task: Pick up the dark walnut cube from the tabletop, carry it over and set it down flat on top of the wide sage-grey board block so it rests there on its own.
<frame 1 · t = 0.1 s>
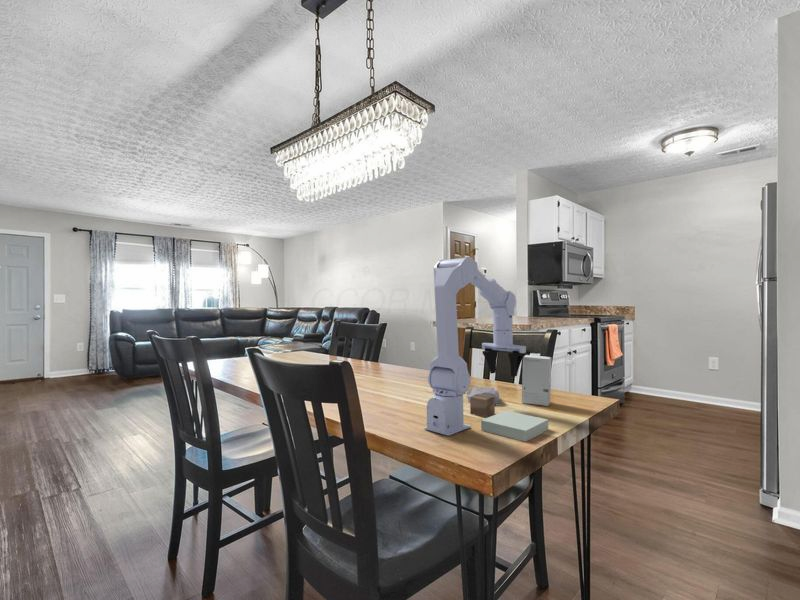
hand: (503, 374, 122), 10 cm above the table, tool pointing down, fingers open, 7 cm apart
stone block: (481, 401, 131), on the table
skincare box: (537, 403, 127), on the table
sage board block: (514, 431, 100), on the table
walnut cube: (482, 413, 115), on the table
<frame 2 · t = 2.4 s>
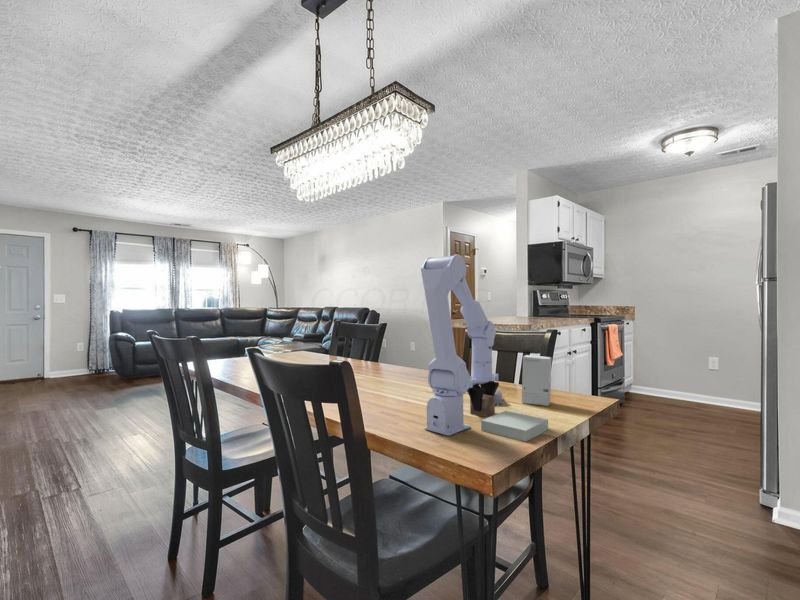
hand: (482, 408, 115), 1 cm above the table, tool pointing down, fingers closed on walnut cube, 5 cm apart
walnut cube: (482, 413, 115), on the table, touching gripper
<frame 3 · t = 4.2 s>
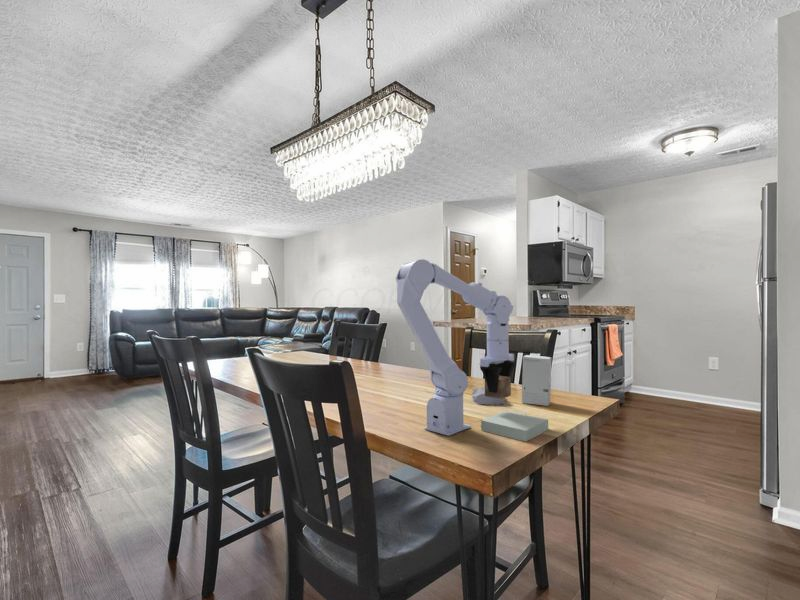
hand: (498, 390, 107), 8 cm above the table, tool pointing down, fingers closed on walnut cube, 5 cm apart
walnut cube: (497, 395, 108), point 7 cm above the table, touching gripper
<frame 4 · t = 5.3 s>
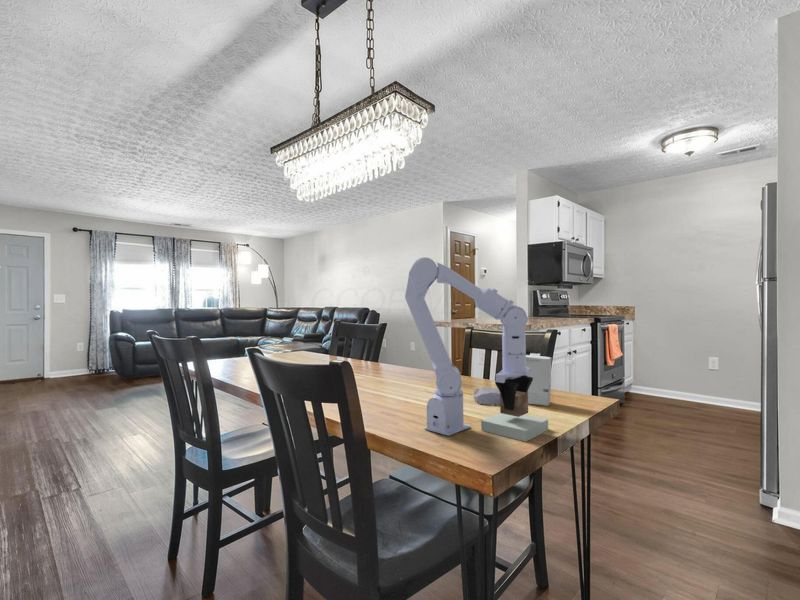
hand: (514, 407, 100), 6 cm above the table, tool pointing down, fingers closed on walnut cube, 5 cm apart
walnut cube: (514, 412, 100), point 4 cm above the table, touching gripper
when the fingers open (6 cm above the table, at t = 6.1 s): walnut cube drops 2 cm, resting on sage board block.
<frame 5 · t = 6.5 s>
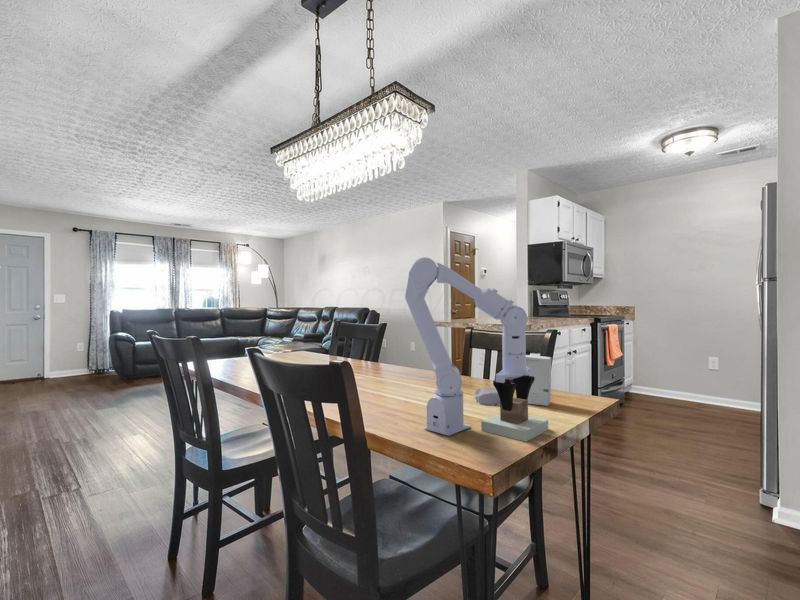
hand: (514, 407, 100), 6 cm above the table, tool pointing down, fingers open, 7 cm apart
sage board block: (514, 432, 100), on the table, touching walnut cube
walnut cube: (514, 420, 100), point 2 cm above the table, touching sage board block
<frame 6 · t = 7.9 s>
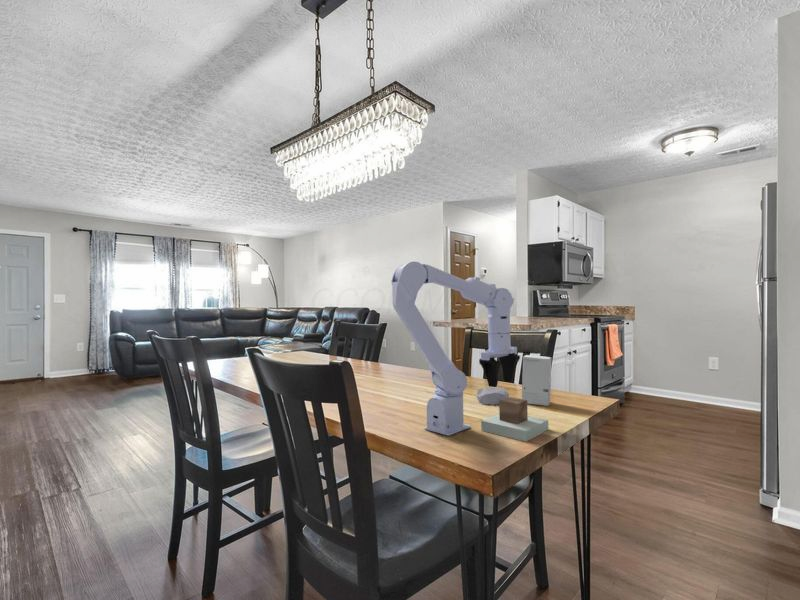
hand: (500, 384, 106), 10 cm above the table, tool pointing down, fingers open, 7 cm apart
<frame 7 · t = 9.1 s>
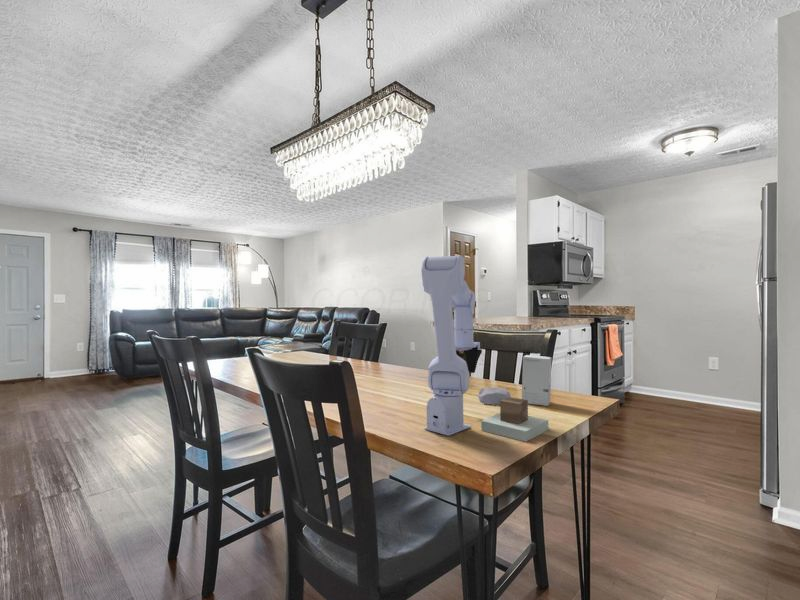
hand: (464, 374, 121), 10 cm above the table, tool pointing down, fingers open, 7 cm apart
sage board block: (515, 432, 100), on the table
walnut cube: (514, 420, 100), point 2 cm above the table
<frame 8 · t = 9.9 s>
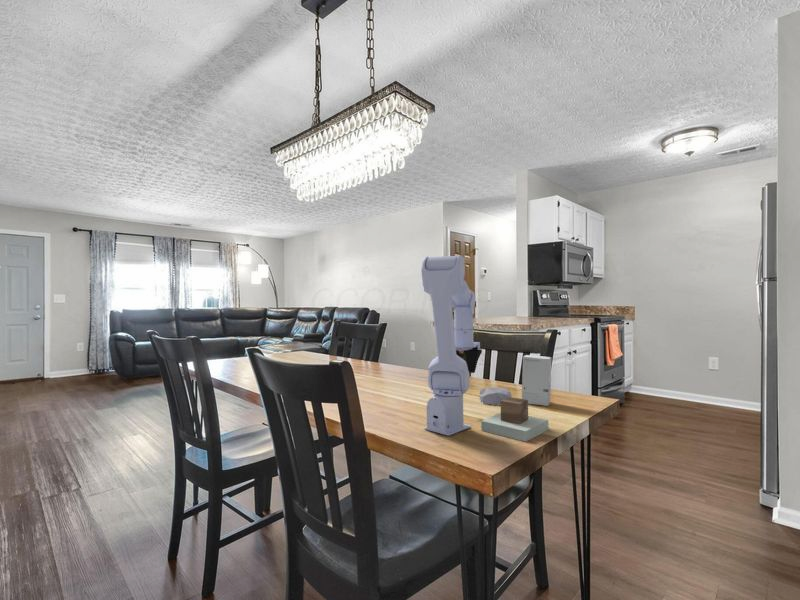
hand: (464, 374, 121), 10 cm above the table, tool pointing down, fingers open, 7 cm apart
sage board block: (515, 432, 100), on the table, touching walnut cube
walnut cube: (514, 420, 101), point 2 cm above the table, touching sage board block
at the end: walnut cube inside the target area on the sage board block (0.2 cm from its centre), point 3.0 cm above the sage board block's base; the gripper is holding nothing; walnut cube tilted 0° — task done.
